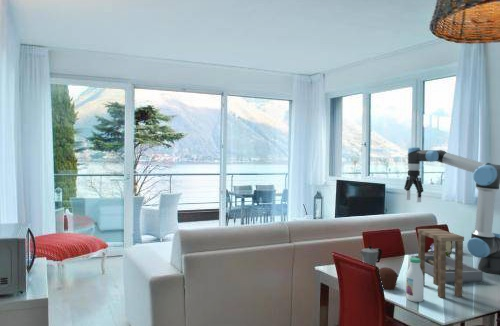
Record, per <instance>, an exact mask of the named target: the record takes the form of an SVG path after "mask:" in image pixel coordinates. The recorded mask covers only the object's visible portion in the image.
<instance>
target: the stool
mask: <svg viewBox="0 0 500 326" xmlns="http://www.w3.org/2000/svg"><path fill="white" fill-rule="evenodd" d="M417 234H418V237H417V238H418V239H417V241H418V242H417V245H418V246H417V248H418V249H417V256H418V258H419V259H420V268H421V270H422V273H423V278H424V286H425V279H426V278H425V274H426V273H425V256H426V237H427V238H431V239H433V244H434V272H433V277H432V278H433V279H432V281H433V282H432V283H433V284H434V285H435V286H437V297H438V298H441V299H445V298H446V284H445V279H446V241H452V242H455V244H454V246H455V249H454V250H455V251H454V260H455V283H454V296H455V297H456V298H463V283H462V276H463V263H464V261H463V260H464V241H465V236H462V235H459V234H456V233H453V232H450V231H446V230H444V229H440V228H417Z"/></svg>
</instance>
